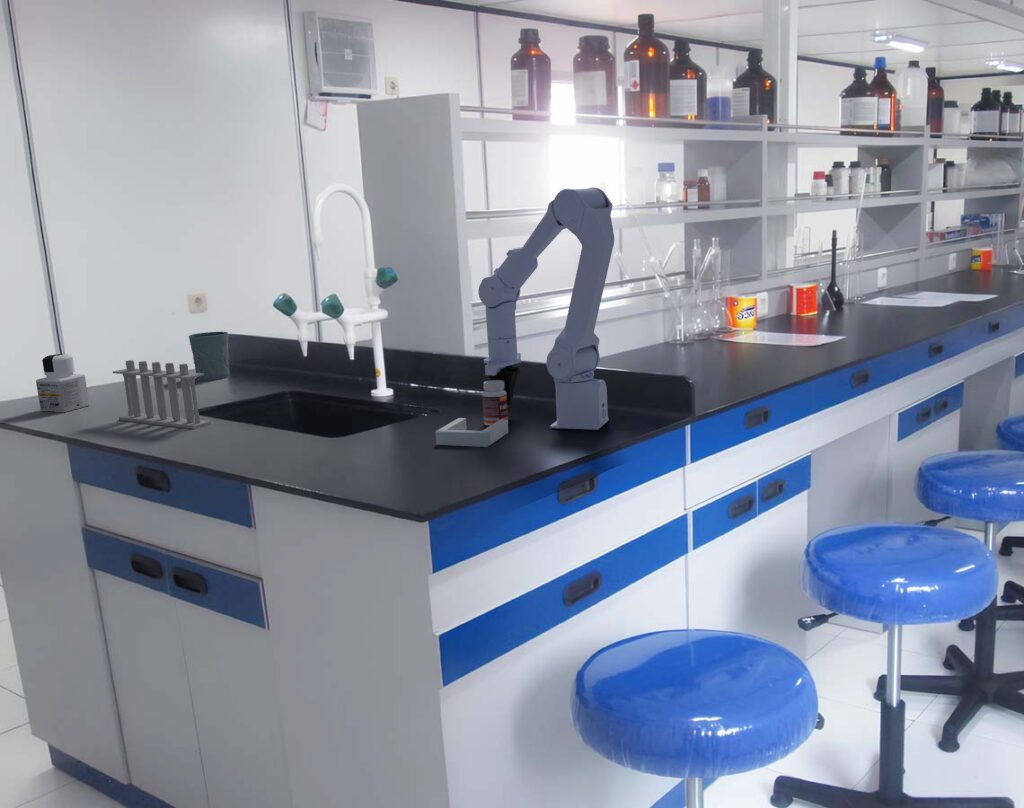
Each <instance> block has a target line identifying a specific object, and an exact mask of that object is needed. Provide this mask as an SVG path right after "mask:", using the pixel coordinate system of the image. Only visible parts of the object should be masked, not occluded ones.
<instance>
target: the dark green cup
mask: <svg viewBox="0 0 1024 808" xmlns="http://www.w3.org/2000/svg"><path fill="white" fill-rule="evenodd" d="M188 339H189V345H190V349H191V353H192V358H193V364H194V370H195V373H203V374H204V376H199V377H196V380H197V381H206V382H207V381H217V380H222V379H223V380H224V379H227V378H229V377H230V363H229V362H230V361H229V360H230V358H229V357H230V355H229V332H227V331H210V332H209V331H208V332H207V331H206V332H200V333H198V332H197V333H193V334H190V335H188Z"/></svg>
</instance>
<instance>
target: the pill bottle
mask: <svg viewBox="0 0 1024 808" xmlns="http://www.w3.org/2000/svg"><path fill="white" fill-rule="evenodd" d="M503 389H504V381H502V380H490V379H489V380H485V381H484V382H483V390H484V391H483V392H482V396H481V398H482V410H483V424H484V426H486V427H489V426H490V425H492V424H494V423H495V422H497V421H498V420H500V419H506V420H508V421H509V414H508V413H509V412H508V405H507V393H506V391H505V390H503Z"/></svg>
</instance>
